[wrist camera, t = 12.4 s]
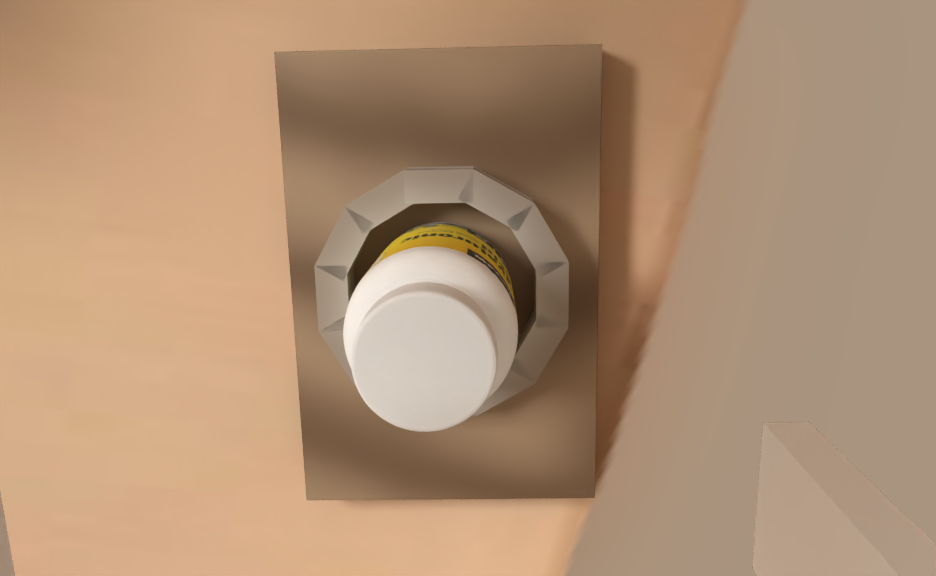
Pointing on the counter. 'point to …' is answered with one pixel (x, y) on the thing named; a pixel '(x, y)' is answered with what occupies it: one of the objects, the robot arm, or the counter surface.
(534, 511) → the counter surface
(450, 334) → the supplement bottle
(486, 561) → the counter surface
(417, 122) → the mount board
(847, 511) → the robot arm
